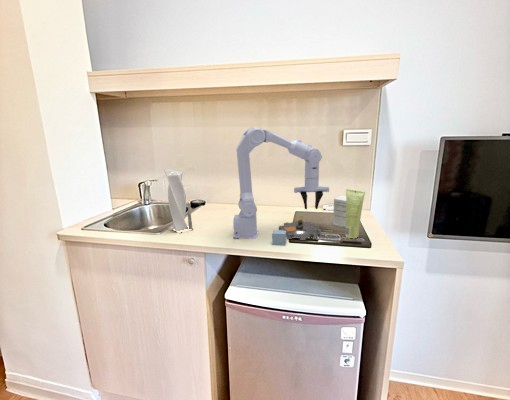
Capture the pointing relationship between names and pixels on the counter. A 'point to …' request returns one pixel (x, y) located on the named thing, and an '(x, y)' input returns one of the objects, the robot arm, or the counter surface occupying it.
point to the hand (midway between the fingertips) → (311, 208)
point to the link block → (278, 237)
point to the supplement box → (339, 211)
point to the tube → (353, 212)
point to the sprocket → (300, 229)
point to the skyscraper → (177, 201)
